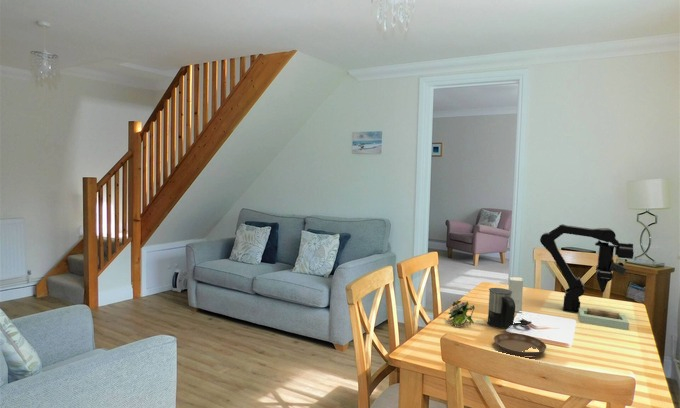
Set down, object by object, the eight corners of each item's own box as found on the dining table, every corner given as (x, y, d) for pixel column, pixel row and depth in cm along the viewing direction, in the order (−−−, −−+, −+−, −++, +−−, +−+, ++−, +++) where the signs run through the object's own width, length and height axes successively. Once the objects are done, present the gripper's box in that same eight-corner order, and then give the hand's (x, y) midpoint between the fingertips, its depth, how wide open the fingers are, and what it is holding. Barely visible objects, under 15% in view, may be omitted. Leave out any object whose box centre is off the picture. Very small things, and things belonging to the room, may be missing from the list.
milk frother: (481, 322, 189) (484, 288, 188) (507, 318, 196) (510, 285, 195) (509, 334, 176) (511, 297, 175) (535, 329, 184) (538, 293, 183)
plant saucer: (519, 363, 150) (520, 354, 150) (482, 343, 166) (483, 335, 166) (557, 356, 157) (557, 348, 157) (518, 338, 173) (519, 330, 173)
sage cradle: (579, 322, 195) (580, 315, 195) (578, 314, 206) (578, 308, 206) (628, 330, 188) (629, 323, 187) (624, 321, 198) (624, 315, 198)
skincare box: (521, 313, 204) (524, 281, 203) (507, 311, 206) (510, 279, 205) (520, 307, 212) (522, 277, 211) (506, 306, 214) (509, 275, 213)
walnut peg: (586, 318, 198) (587, 310, 198) (586, 315, 201) (587, 308, 201) (618, 323, 192) (619, 315, 192) (618, 321, 196) (618, 313, 195)
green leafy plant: (454, 333, 190) (460, 306, 196) (477, 335, 183) (483, 308, 188) (440, 322, 184) (447, 295, 190) (464, 324, 177) (470, 296, 182)
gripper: (628, 262, 192) (624, 297, 193) (625, 255, 208) (621, 288, 210) (598, 258, 197) (594, 293, 199) (597, 252, 214) (594, 284, 215)
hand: (602, 289), depth 205 cm, fingers open, 9 cm apart
